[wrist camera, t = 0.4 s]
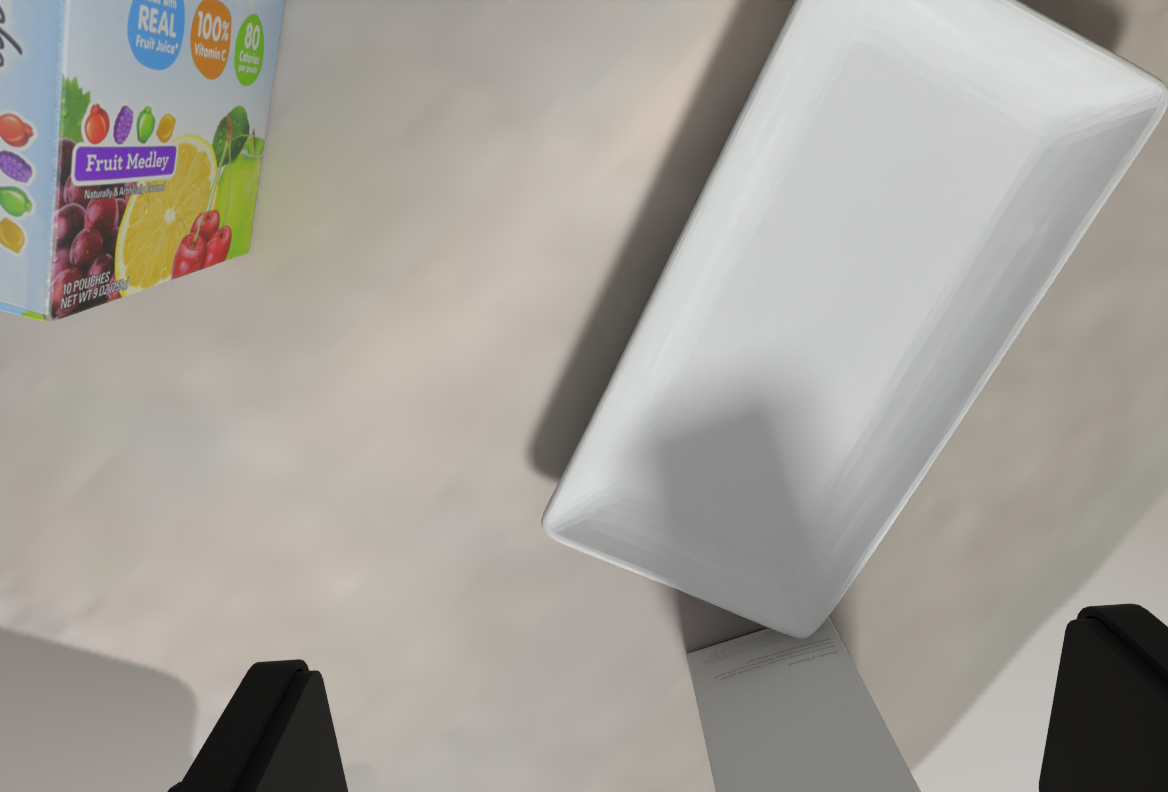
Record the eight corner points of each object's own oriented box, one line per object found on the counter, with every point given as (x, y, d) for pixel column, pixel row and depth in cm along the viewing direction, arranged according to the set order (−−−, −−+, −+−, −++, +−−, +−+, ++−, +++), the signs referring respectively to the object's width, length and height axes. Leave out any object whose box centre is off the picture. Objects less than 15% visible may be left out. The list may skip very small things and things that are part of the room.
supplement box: (681, 650, 45) (731, 887, 31) (826, 605, 44) (946, 827, 30) (724, 761, 48) (788, 1024, 34) (861, 721, 47) (986, 973, 33)
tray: (534, 505, 42) (530, 537, 39) (821, -81, 33) (849, -105, 30) (794, 610, 45) (812, 648, 41) (1128, 94, 35) (1185, 90, 32)
